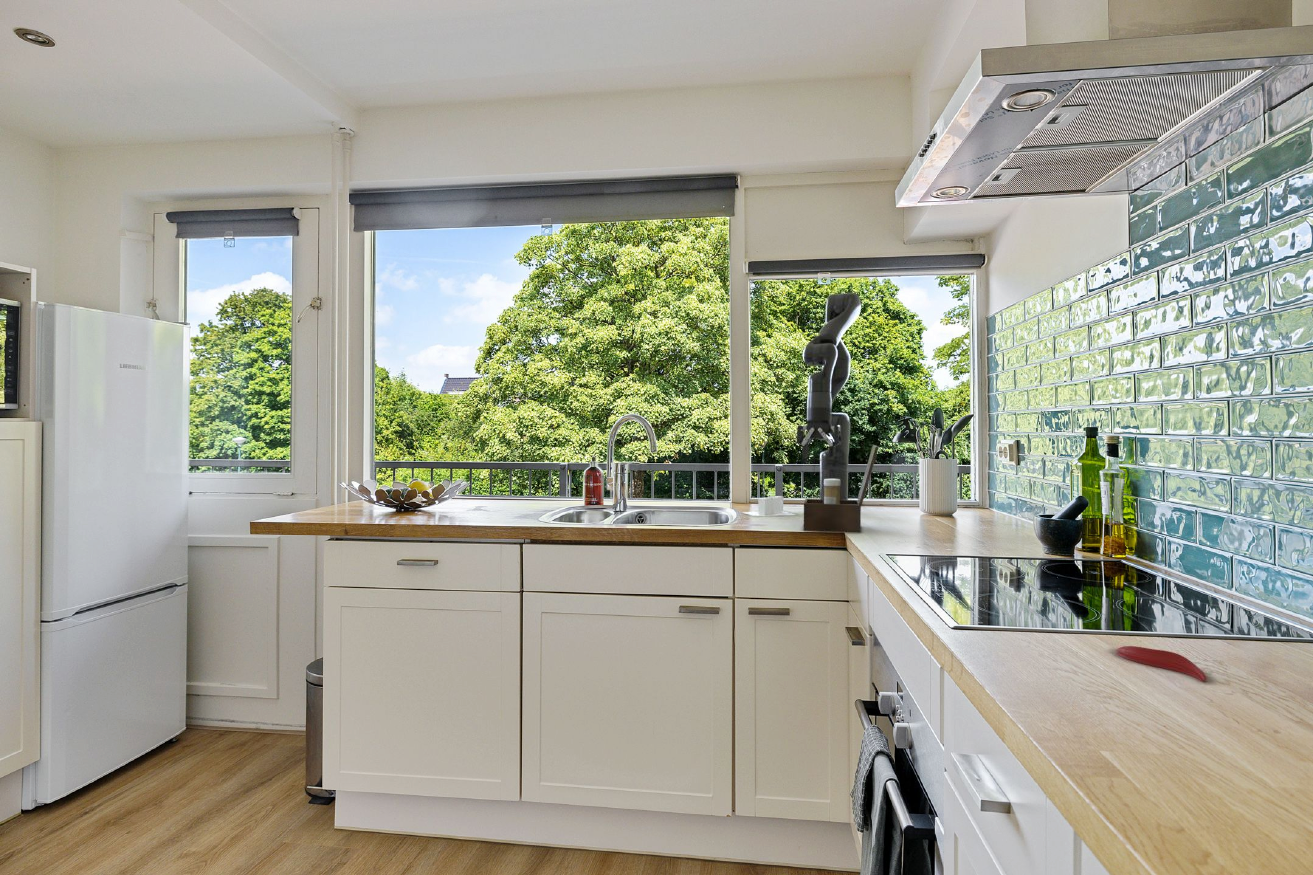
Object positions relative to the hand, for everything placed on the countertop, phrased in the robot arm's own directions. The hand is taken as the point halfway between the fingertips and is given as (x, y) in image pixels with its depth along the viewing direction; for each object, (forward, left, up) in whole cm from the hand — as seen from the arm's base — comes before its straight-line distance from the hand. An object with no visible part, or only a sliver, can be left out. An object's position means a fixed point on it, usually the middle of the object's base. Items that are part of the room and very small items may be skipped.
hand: (818, 458), depth 233 cm
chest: (+20, +14, -19) cm, 31 cm away
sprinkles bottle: (+20, +14, -18) cm, 31 cm away
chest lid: (+16, +22, -3) cm, 28 cm away
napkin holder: (+1, -17, -19) cm, 25 cm away
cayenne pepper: (+105, +97, -19) cm, 144 cm away
